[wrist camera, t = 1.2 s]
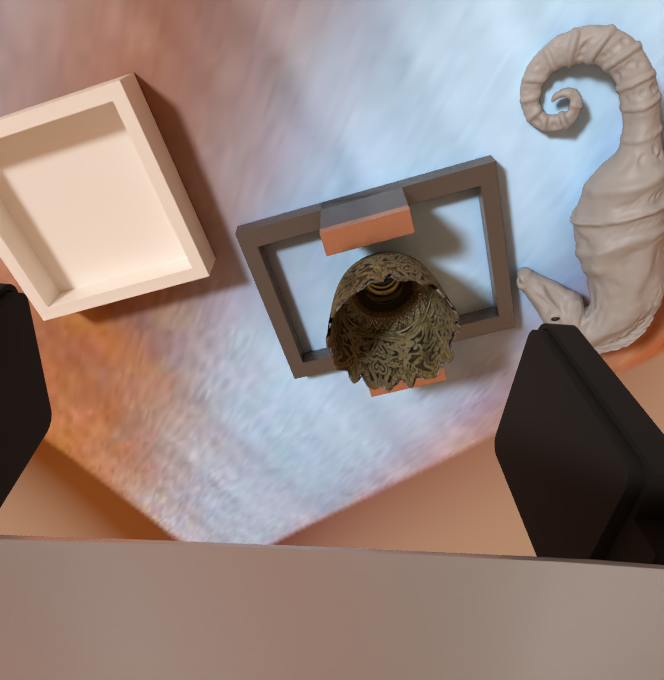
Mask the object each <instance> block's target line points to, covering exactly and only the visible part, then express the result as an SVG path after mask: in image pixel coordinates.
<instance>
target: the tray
mask: <svg viewBox="0 0 664 680" xmlns="http://www.w3.org/2000/svg"><path fill="white" fill-rule="evenodd" d="M0 257H1V259H2V260H3V262H4V263H5V265H6V266H7V267H8V269H9V270H10V272H11V273H12V275H13V276H14V278H15V279H16V281H17V282H18V284H19V285H20V287H21V288H22V290H23V291H24V292H25V294H26V295H27V297H28V298H29V300H30V301H31V303H32V304H33V306H34V307H35V309H36V310H37V312H38V313H39V315H40V316H41V317H42V319H43V320H44V321H45V320H49V319H52V318H56V317H60V316H64V315H67V314H71V313H75V312H78V311H82V310H86V309H89V308H93V307H97V306H101V305H104V304H108V303H112V302H115V301H119V300H123V299H127V298H130V297H134V296H138V295H141V294H145V293H149V292H153V291H156V290H160V289H164V288H167V287H171V286H175V285H178V284H182V283H186V282H190V281H193V280H197V279H201V278H204V277H208V276H210V273H211V271H212V268H213V265H214V263H215V260H216V257H215V255H214V253H213V251H212V248H211V246H210V244H209V242H208V239H207V237H206V235H205V233H204V230H203V228H202V226H201V224H200V221H199V219H198V217H197V215H196V212H195V210H194V208H193V206H192V203H191V201H190V199H189V197H188V194H187V192H186V190H185V188H184V185H183V183H182V181H181V178H180V176H179V174H178V172H177V169H176V167H175V165H174V163H173V160H172V158H171V156H170V154H169V151H168V149H167V147H166V145H165V142H164V140H163V138H162V136H161V133H160V131H159V129H158V127H157V124H156V122H155V120H154V118H153V115H152V113H151V111H150V108H149V106H148V104H147V102H146V99H145V97H144V95H143V93H142V90H141V88H140V86H139V84H138V81H137V79H136V77H135V75H134V72H133V73H130V74H127V75H124V76H121V77H118V78H115V79H112V80H109V81H106V82H103V83H100V84H97V85H94V86H91V87H88V88H85V89H82V90H79V91H76V92H73V93H70V94H67V95H64V96H61V97H58V98H55V99H52V100H49V101H46V102H43V103H40V104H37V105H34V106H31V107H28V108H25V109H22V110H19V111H16V112H14V113H11V114H8V115H5V116H2V117H0Z"/></svg>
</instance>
